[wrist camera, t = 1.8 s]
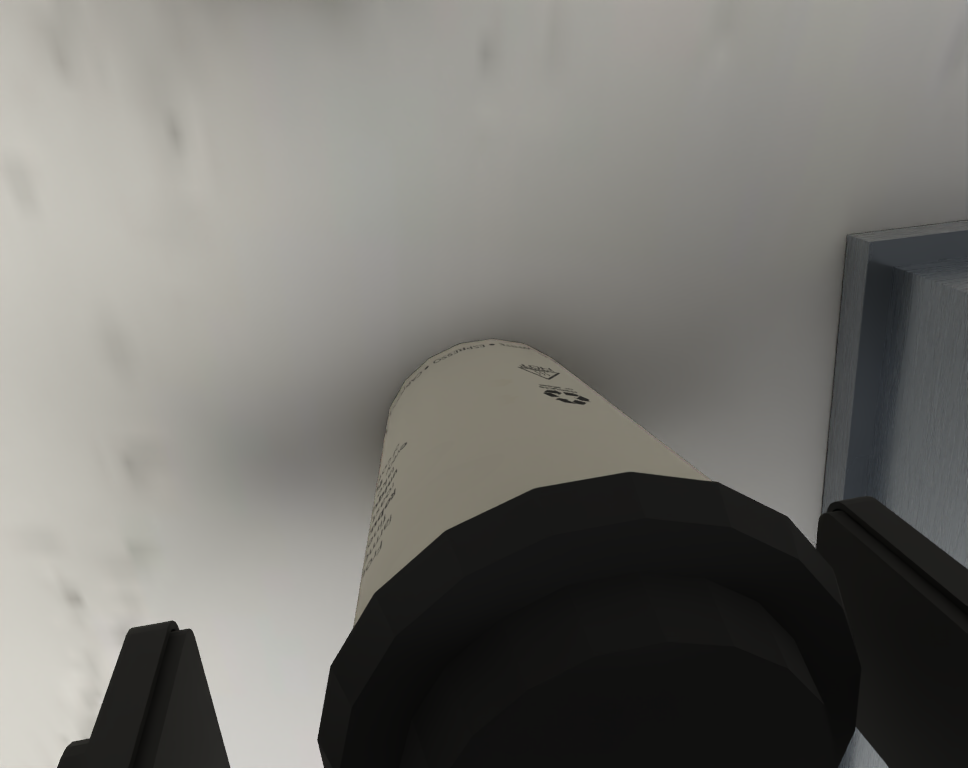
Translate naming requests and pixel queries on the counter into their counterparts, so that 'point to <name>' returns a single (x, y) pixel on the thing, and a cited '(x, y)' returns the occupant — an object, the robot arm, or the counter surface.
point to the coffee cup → (576, 594)
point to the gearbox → (903, 390)
